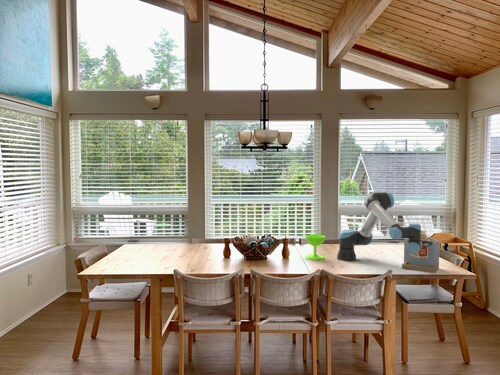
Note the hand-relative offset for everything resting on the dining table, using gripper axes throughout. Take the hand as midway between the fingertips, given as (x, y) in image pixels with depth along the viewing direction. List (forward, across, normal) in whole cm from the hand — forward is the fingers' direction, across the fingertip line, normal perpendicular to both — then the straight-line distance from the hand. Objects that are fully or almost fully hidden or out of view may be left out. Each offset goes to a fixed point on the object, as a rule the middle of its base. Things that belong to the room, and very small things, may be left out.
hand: (421, 240), depth 288 cm
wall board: (-5, 0, -20) cm, 20 cm away
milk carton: (-5, 0, -11) cm, 12 cm away
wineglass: (-15, -78, -20) cm, 82 cm away
